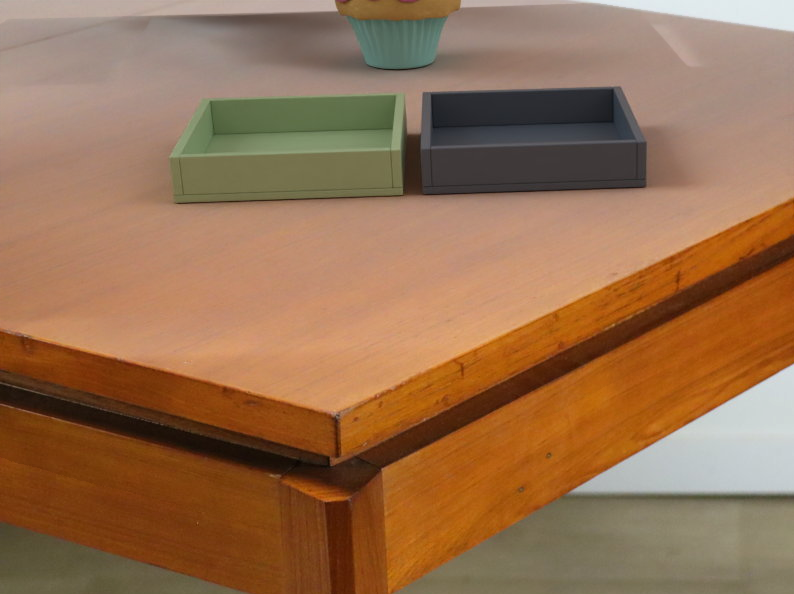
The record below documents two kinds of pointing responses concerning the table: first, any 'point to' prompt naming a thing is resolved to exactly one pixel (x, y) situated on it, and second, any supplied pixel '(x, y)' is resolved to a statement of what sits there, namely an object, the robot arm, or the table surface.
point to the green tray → (292, 148)
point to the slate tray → (530, 140)
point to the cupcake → (398, 29)
